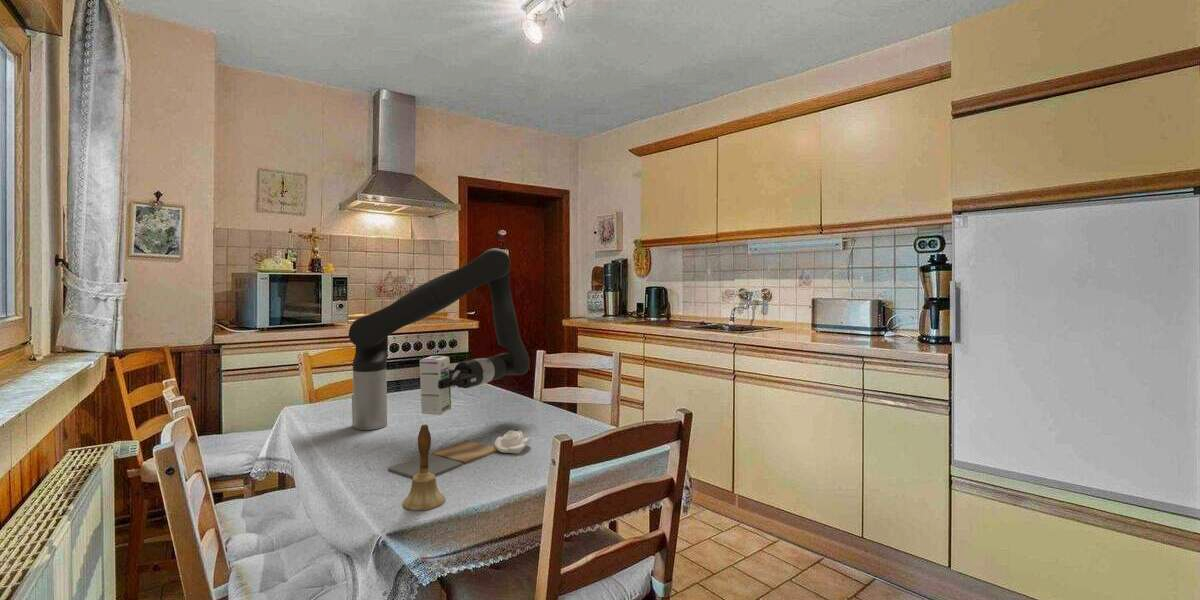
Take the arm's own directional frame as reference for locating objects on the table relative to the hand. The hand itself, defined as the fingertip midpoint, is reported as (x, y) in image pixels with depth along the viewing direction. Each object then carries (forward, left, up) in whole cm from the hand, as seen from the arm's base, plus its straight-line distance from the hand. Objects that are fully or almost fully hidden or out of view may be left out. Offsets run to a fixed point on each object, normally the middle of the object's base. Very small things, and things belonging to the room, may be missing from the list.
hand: (429, 383), depth 144 cm
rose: (+17, +13, -17) cm, 28 cm away
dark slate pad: (+9, -9, -18) cm, 22 cm away
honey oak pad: (+9, +4, -18) cm, 20 cm away
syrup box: (0, +2, -8) cm, 8 cm away
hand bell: (+24, -22, -18) cm, 38 cm away
